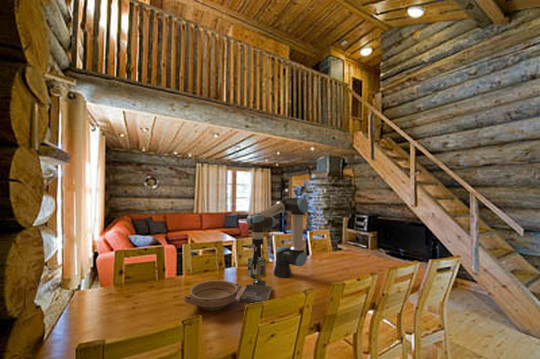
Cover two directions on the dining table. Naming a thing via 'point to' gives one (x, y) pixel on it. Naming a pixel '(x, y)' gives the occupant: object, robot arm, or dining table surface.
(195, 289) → the ceramic bowl
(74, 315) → the dining table surface
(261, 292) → the motor base
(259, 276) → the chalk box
